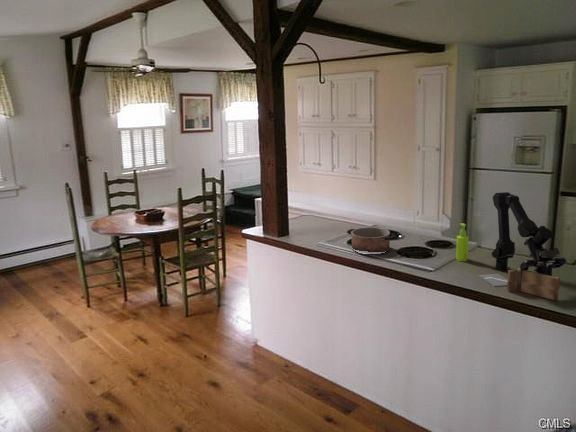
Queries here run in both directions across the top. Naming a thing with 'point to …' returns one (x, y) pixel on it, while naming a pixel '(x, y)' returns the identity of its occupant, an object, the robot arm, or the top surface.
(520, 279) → the fence post
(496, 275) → the card
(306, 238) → the top surface
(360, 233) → the cooking pot
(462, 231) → the soap dispenser
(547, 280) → the fence gate
